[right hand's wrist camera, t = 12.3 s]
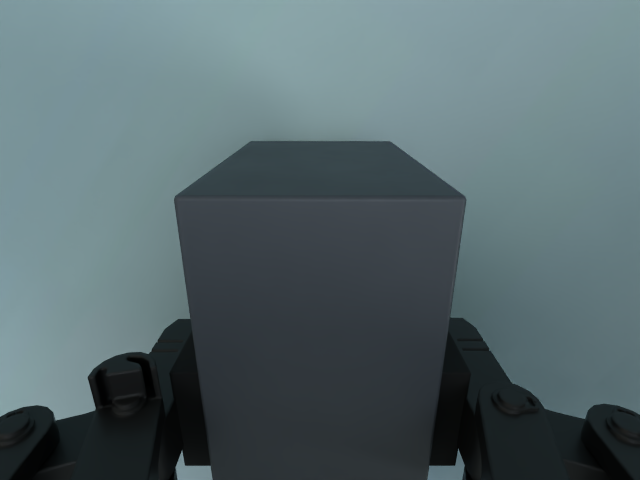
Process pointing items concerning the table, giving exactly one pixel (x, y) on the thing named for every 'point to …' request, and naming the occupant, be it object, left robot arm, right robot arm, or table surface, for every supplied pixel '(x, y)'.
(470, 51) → the table surface
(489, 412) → the right robot arm
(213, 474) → the beam
